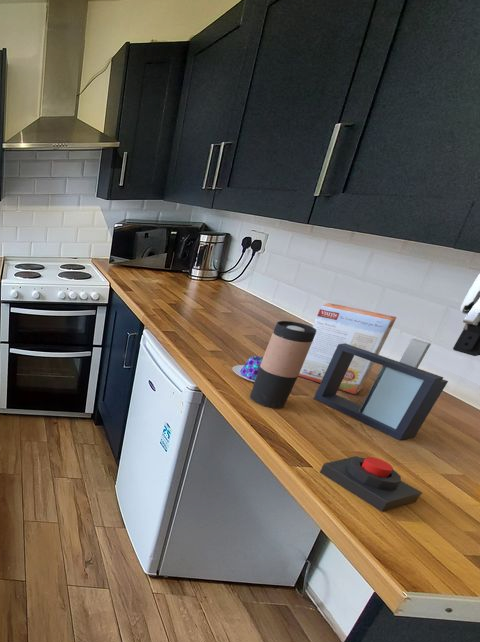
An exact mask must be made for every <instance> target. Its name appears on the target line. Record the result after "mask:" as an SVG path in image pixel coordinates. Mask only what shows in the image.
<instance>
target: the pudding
mask: <svg viewBox="0 0 480 642" xmlns="http://www.w3.org/2000/svg"><path fill="white" fill-rule="evenodd" d="M263 357H264V356H258V355H255V356H250V357H249V358H248V359H247V360H246V362H245V364H237V365H234V366H233V367H232V371H233V372H234V373H235V374H236V375H237V376H239V377H241V378H242V379H245V380H247V381H250V382H253V383H254V382H255V379H256V376H257V373H258V370H259V367H260V364H261V362H262V359H263Z"/></svg>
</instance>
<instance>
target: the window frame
mask: <svg viewBox="0 0 480 642" xmlns="http://www.w3.org/2000/svg"><path fill="white" fill-rule="evenodd" d="M354 355H355V356H358V357H361V358H364V359H366V360H369V361H372V362H375V363H374V364H376V365H381V368H380V370H379V372H378V374H377V376H376V377H375V379H374V382H373V383H372V386H371V388H370V390H369V391H368V394H367V395H366V396H365V399H364V401H363V403H362V405H361V404H359V403H356V402H355V401H351V400H349V399H347V398H345V397H343V396H340V395H338V394H337V393H338V391H339V389H338V388H339V386H340V384H341V382H342V380H343V378H344V376H345V374H346V372H347V370H348V368H349V365H350V363H351V361H352V359H353V357H354ZM448 383H449V381H448V380H446V379H444V376H441V375H438V374H435V373H432V372H429V371H426V370H423V369H421V368H419V367H418V368H415V367H412V366H409V365H406V364H404V363H401V362H400V361H398V360H394V359H392V358H389V357H386V356H383V355H380V354H379V355H378V354H375V353H372V352H369V351H366V350H363V349H360V348H357V347H354V346H352V345H349V344H346V343H345V344H338V346H337V348H336V350H335V353H334V355H333V357H332V359H331V361H330V363H329V366H328V368H327V370H326V372H325V374H324V377H323V379H322V381H321V383H319V385H318V388H317V390H316V392H315V394H314V396H313V400H316V401H317V402H319V403H322V404H324V405H326V406H327V407H330V408H332V409H334V410H336V411H338V412H341V413H343V414H344V415H347V416H348V417H351V418H353V419H355V420H357V421H359V422H360V423H362V424H364V425H367V426H369V427H371V428H373V429H375V430H377V431H379V432H381V433H383V434H385V435H387V436H390V437H391V438H393V439H396V440H398V441H403V440H407V439H412V438H415V437H416V435H417V434H418V432H419V430H420V429H421V428H422V426H423V424H424V422H425V421H426V419H427V417H428V416H429V414H430V412H432V409H433V407H434V406H435V404H436V402H437V401H438V399H439V398H440V396H441V394H442V392H443V391H444V389H445V387H446V386H447V384H448Z"/></svg>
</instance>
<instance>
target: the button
mask: <svg viewBox="0 0 480 642" xmlns="http://www.w3.org/2000/svg"><path fill="white" fill-rule="evenodd" d="M364 458H365V460H364V462H363V464H362V465H361V467H362V468H363V469H364V470H366V471H368V472H370V473H371V474H374V475H377V476H379V477H385V478H387V477H389V475H390V473H391V472H392V470H394V467H393V466H392V465H391V464H390V463H389V462H387V461H385V460H383V459H380V458H378V457H374V456H366V457H364Z"/></svg>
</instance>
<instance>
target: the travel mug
mask: <svg viewBox="0 0 480 642" xmlns="http://www.w3.org/2000/svg"><path fill="white" fill-rule="evenodd" d="M315 334H316V329H315V328H313V326H311V325H310V324H309V325H308V324H306V323H301V322H297V321H291V320H280V321H277V322H276V324H275V327H274V329H273V332H272V333H271V337H270V338H269V342H268V343H267V347H266V349H265V352H264V355H263V356H262V357H263V359H262V362H261V364H260V367H259V370H258V373H257V376H256V379H255V382H253V385H252V389H251V391H250V395H249V398H250V400H251V401H253V402H254V403H255V404H257V405H260V406H262V407H266V408H270V409H282V408H284V407H285V405H286V403H287V401H288V399H289V397H290V394H291V393H292V390H293V388H294V386H295V384H296V381H297V380H298V377H299V376H298V375H299V373H300V371H301V368H302V366H303V363H304V361H305V358H306V356H307V354H308V351H309V349H310V346H311V344H312V341H313V339H314V337H315Z"/></svg>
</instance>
